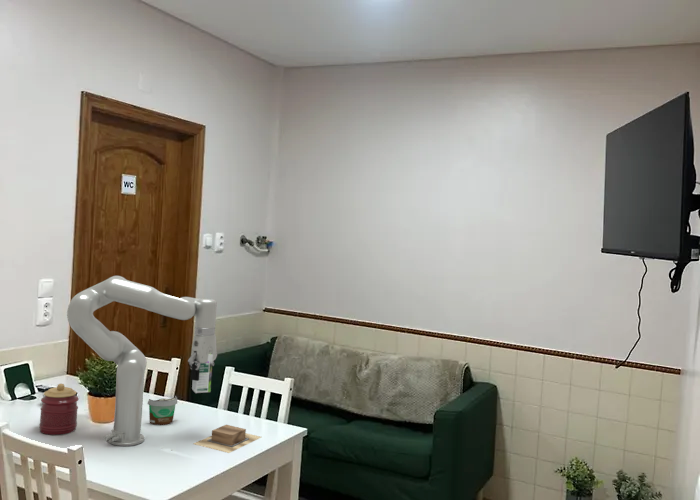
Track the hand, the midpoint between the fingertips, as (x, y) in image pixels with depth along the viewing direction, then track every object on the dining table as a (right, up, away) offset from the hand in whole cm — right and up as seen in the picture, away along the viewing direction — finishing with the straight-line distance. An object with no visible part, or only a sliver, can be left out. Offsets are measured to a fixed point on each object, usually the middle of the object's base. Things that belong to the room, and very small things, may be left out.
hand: (201, 377), depth 242 cm
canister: (-54, -20, +1) cm, 58 cm away
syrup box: (0, -5, 0) cm, 5 cm away
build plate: (+10, -25, 0) cm, 27 cm away
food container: (-19, -22, +18) cm, 35 cm away
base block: (+10, -24, 0) cm, 26 cm away
